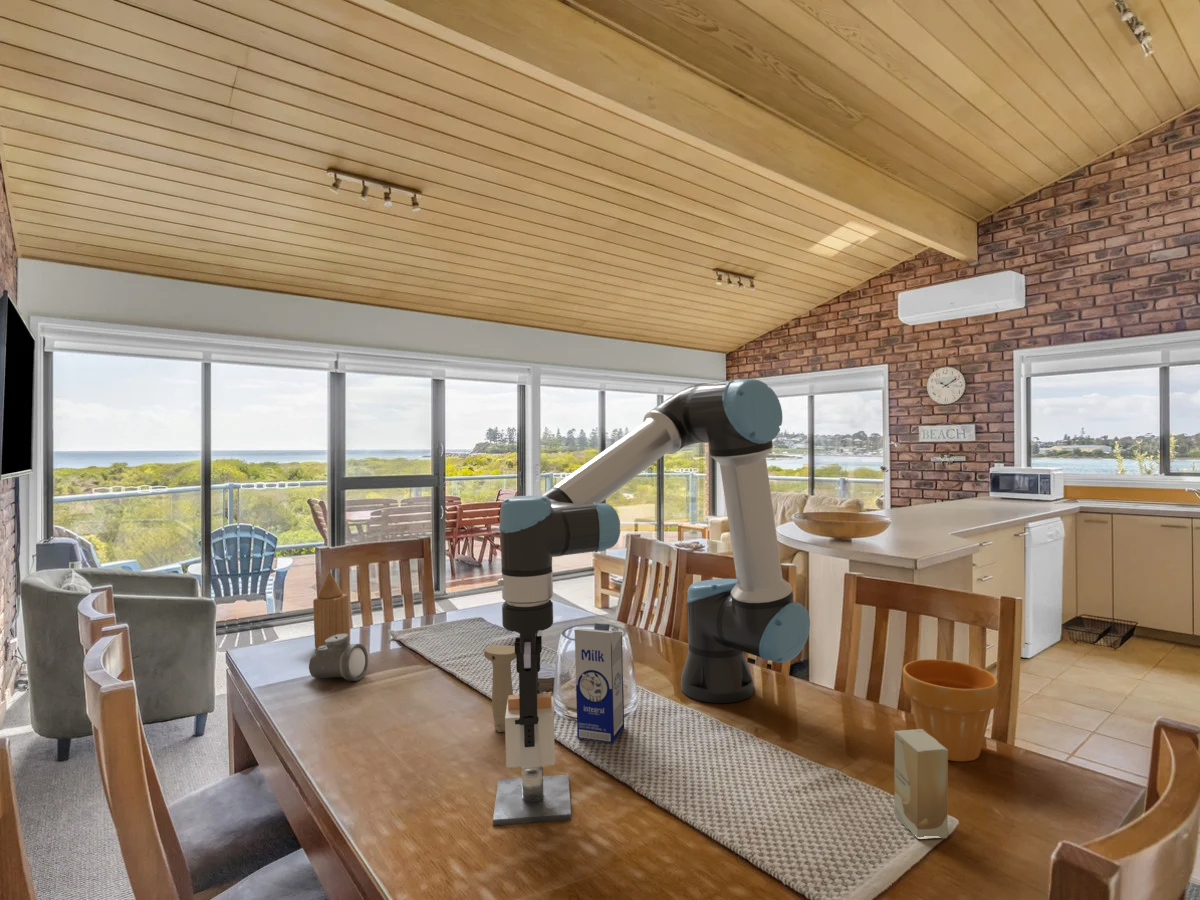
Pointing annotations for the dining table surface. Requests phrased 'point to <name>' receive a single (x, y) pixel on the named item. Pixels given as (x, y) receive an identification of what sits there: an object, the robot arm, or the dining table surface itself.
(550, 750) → the white block with peg
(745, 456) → the robot arm
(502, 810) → the post base
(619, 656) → the milk carton
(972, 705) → the flower pot
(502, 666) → the handle
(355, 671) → the pipe fitting
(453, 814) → the dining table surface
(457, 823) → the dining table surface
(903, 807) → the skincare box
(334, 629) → the decorative item
